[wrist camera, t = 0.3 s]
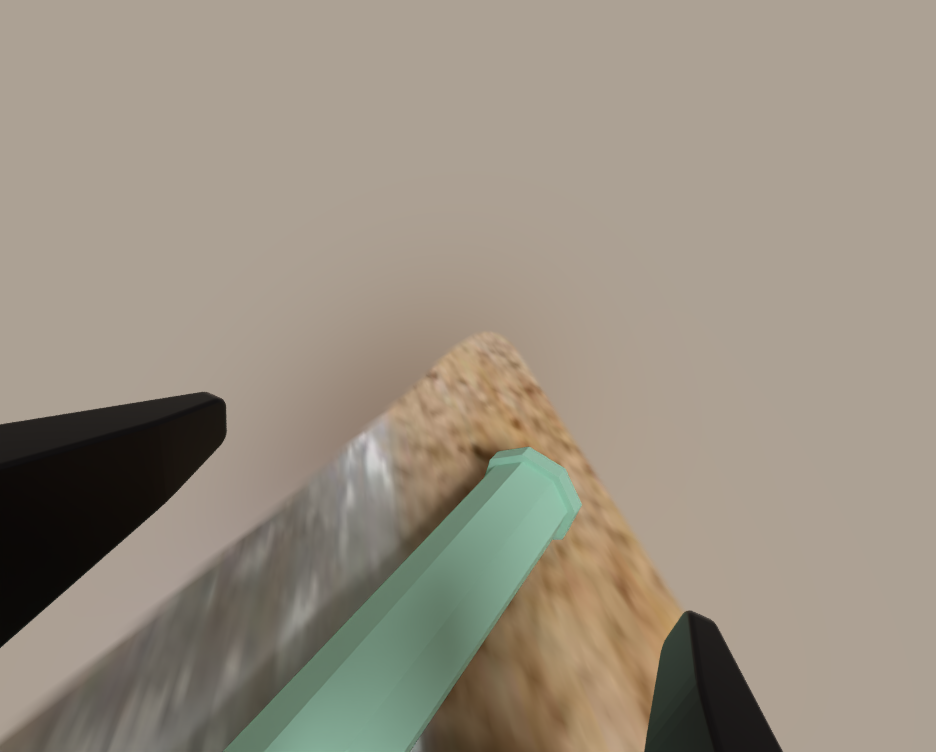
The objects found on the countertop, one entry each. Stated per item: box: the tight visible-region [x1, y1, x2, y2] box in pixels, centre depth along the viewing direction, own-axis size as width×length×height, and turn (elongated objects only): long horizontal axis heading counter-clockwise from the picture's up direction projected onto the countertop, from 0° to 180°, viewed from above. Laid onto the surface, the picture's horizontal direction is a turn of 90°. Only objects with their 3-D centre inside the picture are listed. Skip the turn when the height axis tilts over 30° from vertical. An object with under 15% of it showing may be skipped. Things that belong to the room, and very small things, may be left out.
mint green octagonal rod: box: [223, 447, 582, 752], centre depth 20 cm, size 6×6×25 cm
